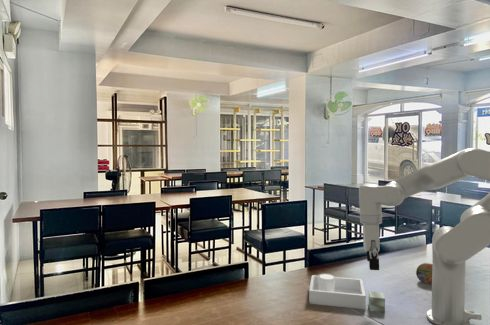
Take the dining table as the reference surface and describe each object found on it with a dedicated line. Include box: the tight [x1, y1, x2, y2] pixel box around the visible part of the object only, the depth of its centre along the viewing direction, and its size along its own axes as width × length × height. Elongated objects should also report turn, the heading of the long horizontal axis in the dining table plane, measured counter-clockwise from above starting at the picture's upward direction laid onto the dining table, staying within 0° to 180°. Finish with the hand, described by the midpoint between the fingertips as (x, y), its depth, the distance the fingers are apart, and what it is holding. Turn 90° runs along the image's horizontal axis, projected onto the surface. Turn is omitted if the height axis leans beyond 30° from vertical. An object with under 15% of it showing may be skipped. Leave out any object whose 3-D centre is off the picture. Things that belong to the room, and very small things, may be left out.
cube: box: [368, 291, 386, 313], centre depth 125 cm, size 5×5×5 cm
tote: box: [308, 274, 367, 310], centre depth 135 cm, size 20×16×5 cm
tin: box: [415, 262, 432, 285], centre depth 147 cm, size 15×3×8 cm, turn 62°
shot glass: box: [317, 273, 337, 292], centre depth 136 cm, size 7×7×7 cm
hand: (373, 265), depth 126 cm, fingers open, 9 cm apart
